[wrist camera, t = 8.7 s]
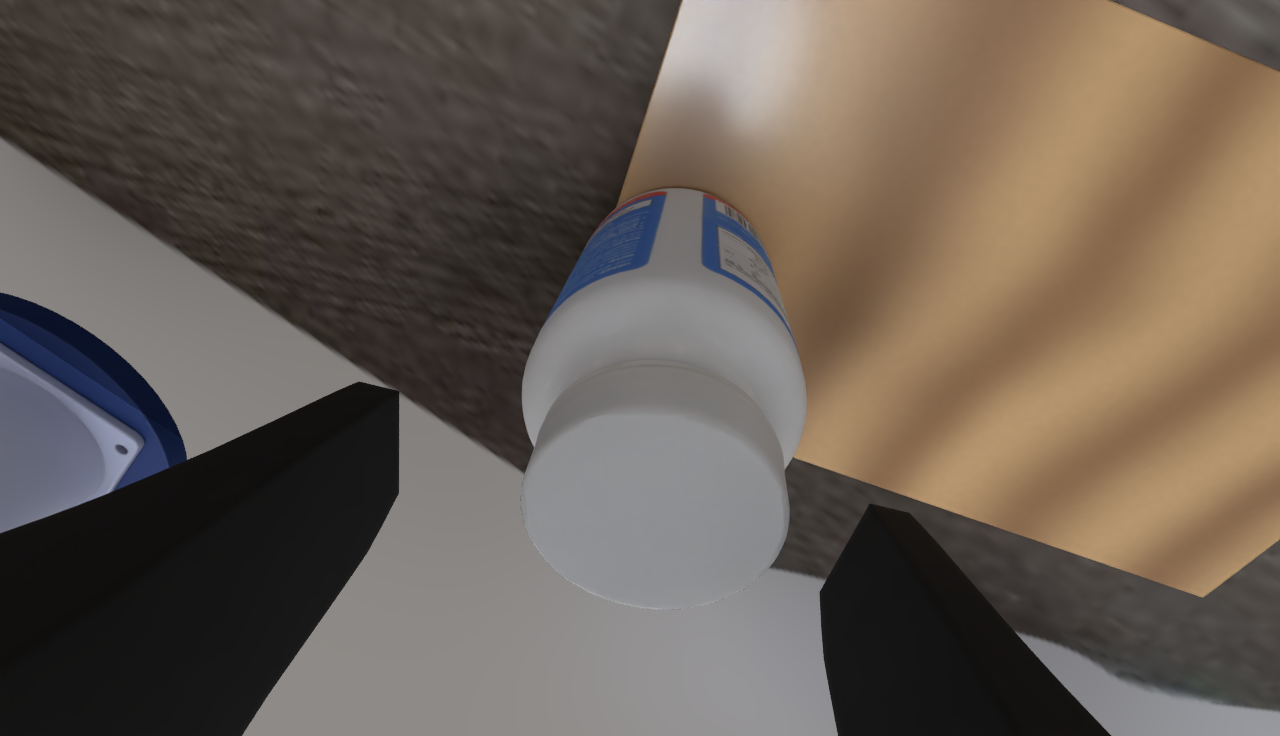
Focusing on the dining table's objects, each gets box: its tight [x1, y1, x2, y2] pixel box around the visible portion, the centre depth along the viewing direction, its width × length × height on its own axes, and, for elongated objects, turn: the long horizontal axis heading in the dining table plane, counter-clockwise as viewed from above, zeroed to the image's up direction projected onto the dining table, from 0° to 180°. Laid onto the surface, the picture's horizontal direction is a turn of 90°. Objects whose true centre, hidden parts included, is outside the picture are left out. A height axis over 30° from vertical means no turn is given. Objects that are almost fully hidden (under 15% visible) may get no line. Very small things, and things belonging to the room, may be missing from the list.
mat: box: [616, 0, 1280, 597], centre depth 17 cm, size 24×14×1 cm, turn 71°
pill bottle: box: [521, 188, 807, 609], centre depth 13 cm, size 6×5×10 cm
